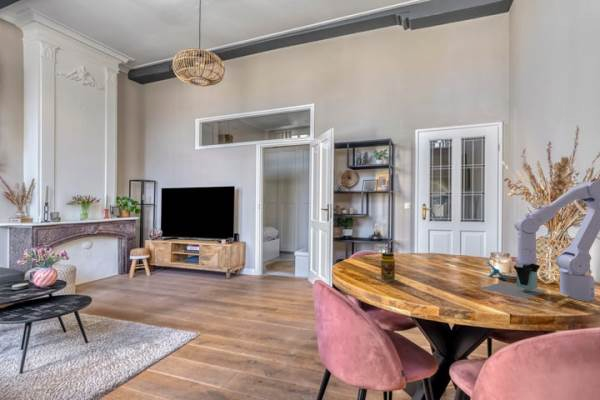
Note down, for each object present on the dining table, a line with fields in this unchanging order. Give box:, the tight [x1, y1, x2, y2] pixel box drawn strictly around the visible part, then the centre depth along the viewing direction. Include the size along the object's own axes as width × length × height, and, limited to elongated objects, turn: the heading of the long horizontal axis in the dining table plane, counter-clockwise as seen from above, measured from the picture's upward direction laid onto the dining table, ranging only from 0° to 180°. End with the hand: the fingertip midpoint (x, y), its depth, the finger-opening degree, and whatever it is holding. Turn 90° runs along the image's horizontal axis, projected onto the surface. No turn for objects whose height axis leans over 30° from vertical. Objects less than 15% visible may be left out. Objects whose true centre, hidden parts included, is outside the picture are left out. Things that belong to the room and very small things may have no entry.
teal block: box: [516, 271, 538, 290], centre depth 118 cm, size 5×5×6 cm
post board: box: [480, 281, 546, 300], centre depth 121 cm, size 16×18×5 cm
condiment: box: [374, 252, 400, 282], centre depth 142 cm, size 7×8×12 cm
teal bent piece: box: [486, 262, 507, 280], centre depth 142 cm, size 11×6×10 cm
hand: (527, 283), depth 118 cm, fingers closed on teal block, 5 cm apart
